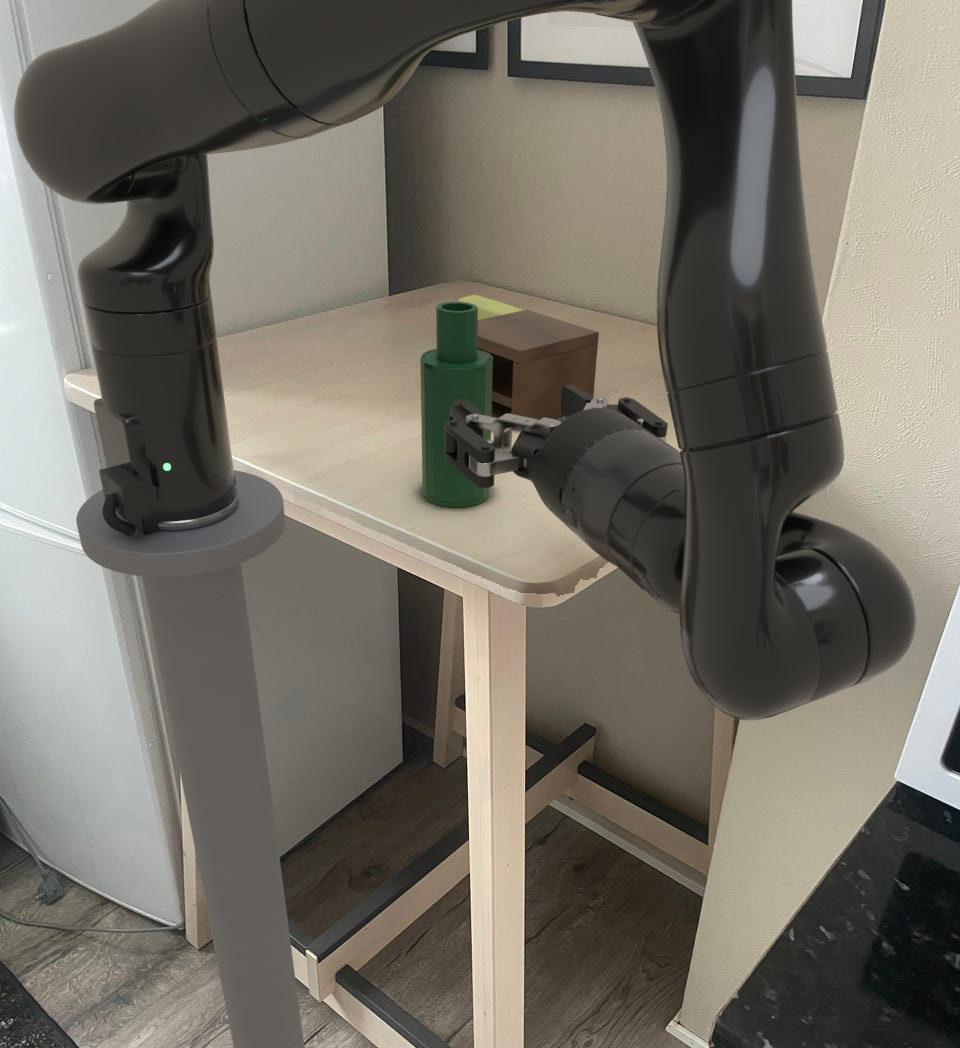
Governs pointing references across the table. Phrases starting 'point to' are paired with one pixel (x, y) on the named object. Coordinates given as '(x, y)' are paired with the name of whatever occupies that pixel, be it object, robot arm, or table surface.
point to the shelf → (537, 361)
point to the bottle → (452, 400)
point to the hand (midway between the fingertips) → (512, 405)
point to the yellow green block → (489, 306)
